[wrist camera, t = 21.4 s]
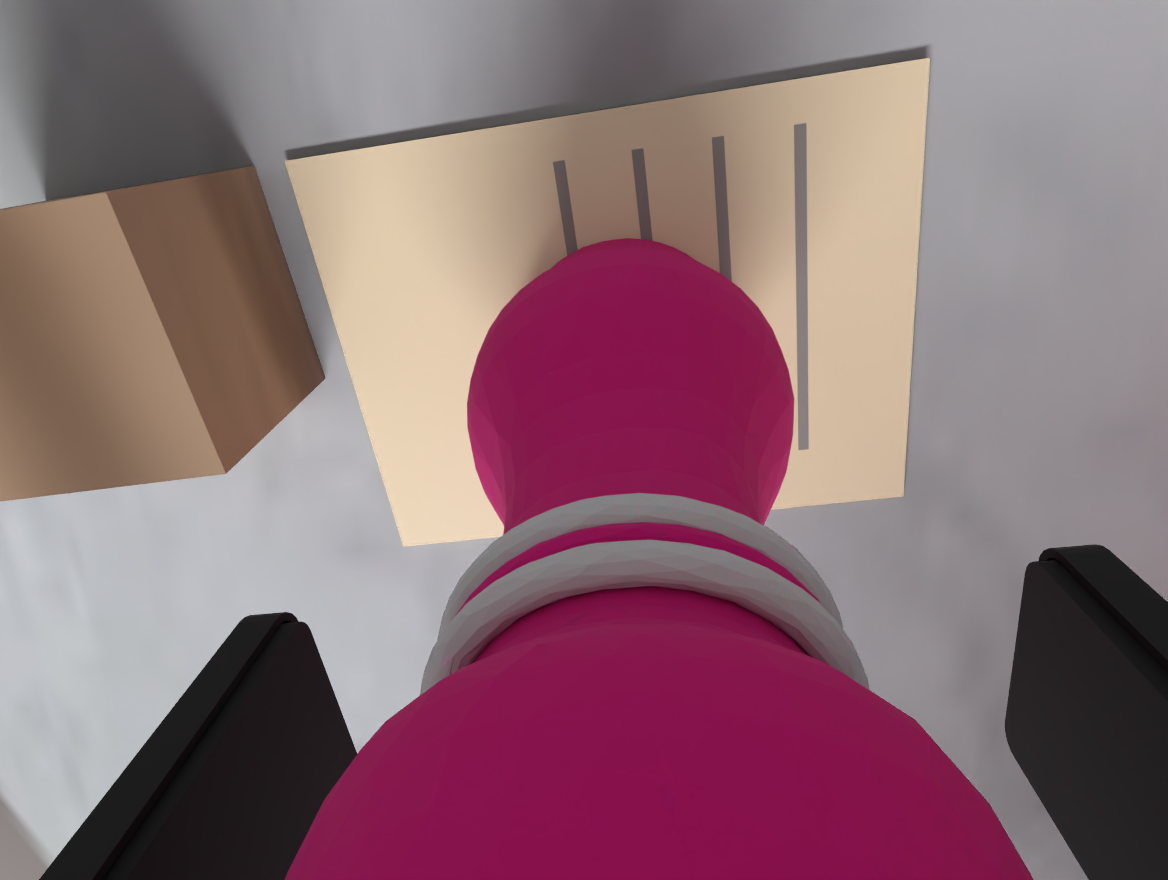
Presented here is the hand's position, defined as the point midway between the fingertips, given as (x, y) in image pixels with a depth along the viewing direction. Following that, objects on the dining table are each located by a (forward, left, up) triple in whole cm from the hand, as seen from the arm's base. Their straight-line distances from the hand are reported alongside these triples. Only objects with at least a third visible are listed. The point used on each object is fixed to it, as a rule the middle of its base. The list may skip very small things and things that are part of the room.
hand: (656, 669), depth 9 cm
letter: (0, -1, -12) cm, 12 cm away
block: (+12, -4, -12) cm, 18 cm away
